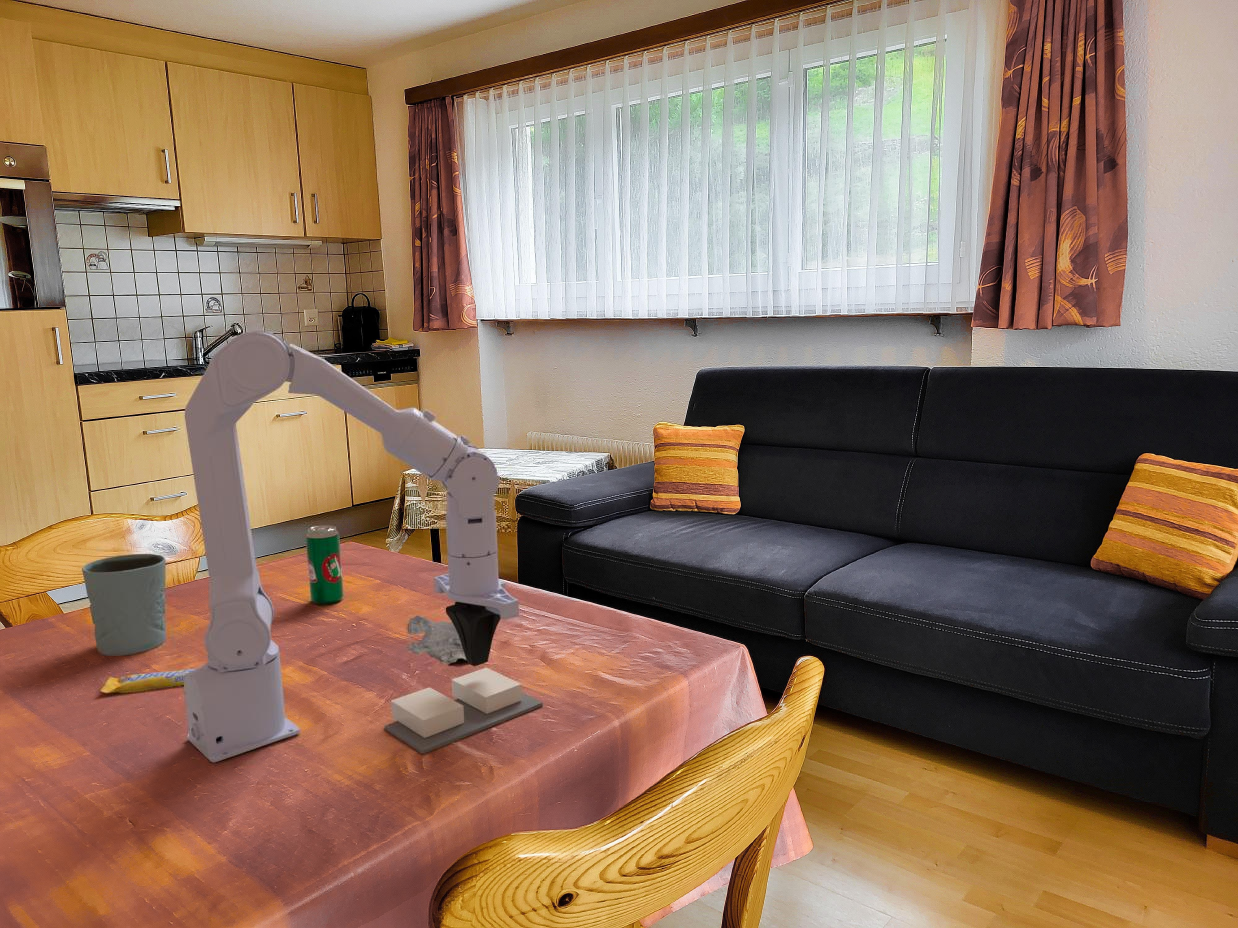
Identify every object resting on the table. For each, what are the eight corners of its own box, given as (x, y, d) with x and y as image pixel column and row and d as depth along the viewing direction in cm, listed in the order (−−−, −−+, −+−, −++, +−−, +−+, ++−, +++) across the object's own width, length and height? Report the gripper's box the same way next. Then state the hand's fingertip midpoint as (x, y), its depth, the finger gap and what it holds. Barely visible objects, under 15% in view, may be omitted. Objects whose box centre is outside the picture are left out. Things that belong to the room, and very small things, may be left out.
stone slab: (405, 616, 132) (473, 607, 133) (407, 628, 132) (474, 618, 134) (400, 667, 114) (478, 655, 116) (402, 680, 115) (479, 668, 116)
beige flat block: (391, 718, 100) (424, 739, 95) (390, 700, 99) (423, 720, 94) (430, 704, 103) (464, 723, 98) (429, 687, 103) (463, 705, 98)
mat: (422, 753, 92) (422, 750, 92) (384, 728, 98) (384, 725, 98) (542, 705, 103) (542, 702, 103) (501, 685, 109) (501, 682, 109)
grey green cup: (75, 654, 122) (64, 570, 120) (131, 629, 131) (122, 550, 129) (137, 660, 119) (127, 574, 117) (189, 633, 129) (181, 554, 127)
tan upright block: (452, 696, 105) (486, 714, 100) (451, 679, 105) (485, 697, 100) (487, 683, 108) (521, 701, 103) (486, 667, 108) (521, 683, 103)
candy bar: (252, 669, 116) (251, 656, 116) (249, 682, 112) (247, 668, 112) (110, 687, 112) (108, 673, 111) (101, 700, 108) (99, 686, 108)
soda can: (311, 597, 144) (305, 526, 142) (343, 594, 146) (338, 523, 144) (310, 607, 140) (304, 533, 138) (343, 603, 141) (338, 530, 139)
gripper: (538, 556, 100) (542, 669, 102) (466, 534, 110) (471, 638, 112) (487, 569, 95) (492, 688, 97) (416, 545, 105) (422, 653, 108)
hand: (477, 662), depth 105 cm, fingers closed
